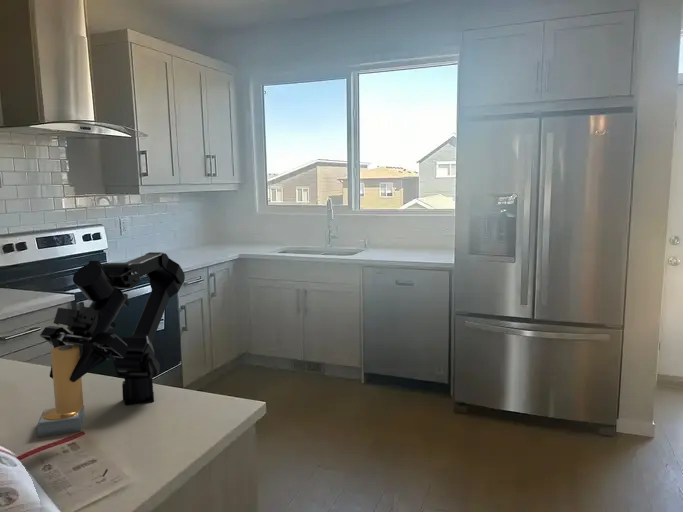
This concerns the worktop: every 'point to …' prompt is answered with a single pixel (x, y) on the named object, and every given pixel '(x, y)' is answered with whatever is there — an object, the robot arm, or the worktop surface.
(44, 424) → the unit
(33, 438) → the worktop surface
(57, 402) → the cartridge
